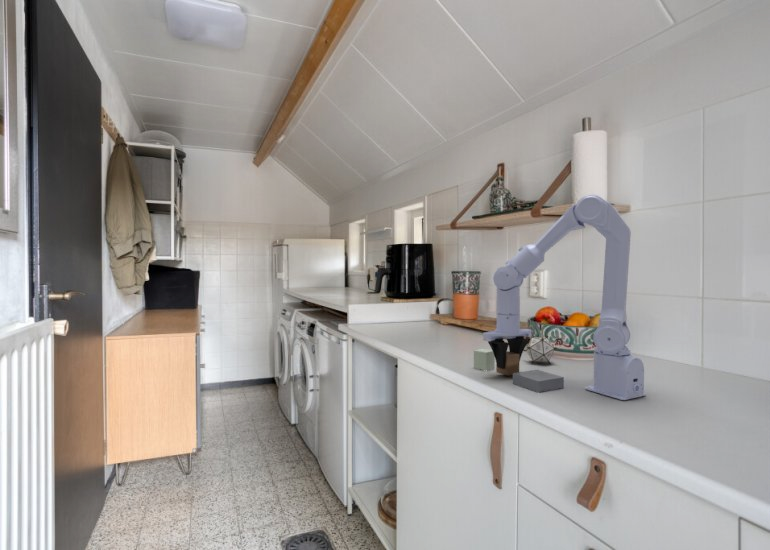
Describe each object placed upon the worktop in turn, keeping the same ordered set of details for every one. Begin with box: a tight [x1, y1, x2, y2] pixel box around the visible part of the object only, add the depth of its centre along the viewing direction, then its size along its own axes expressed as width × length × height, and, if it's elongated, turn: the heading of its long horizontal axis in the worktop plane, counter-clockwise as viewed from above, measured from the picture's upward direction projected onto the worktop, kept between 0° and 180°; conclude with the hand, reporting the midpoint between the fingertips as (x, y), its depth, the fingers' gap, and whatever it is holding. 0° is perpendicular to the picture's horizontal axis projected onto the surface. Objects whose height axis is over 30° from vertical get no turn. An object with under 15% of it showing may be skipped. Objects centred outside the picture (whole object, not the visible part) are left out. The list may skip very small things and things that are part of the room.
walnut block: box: [495, 350, 520, 376], centre depth 109 cm, size 4×4×5 cm
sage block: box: [473, 348, 496, 372], centre depth 117 cm, size 4×4×5 cm
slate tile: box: [512, 369, 565, 393], centre depth 100 cm, size 8×8×2 cm
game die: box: [523, 335, 558, 365], centre depth 124 cm, size 9×8×10 cm
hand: (507, 367), depth 109 cm, fingers closed on walnut block, 4 cm apart
